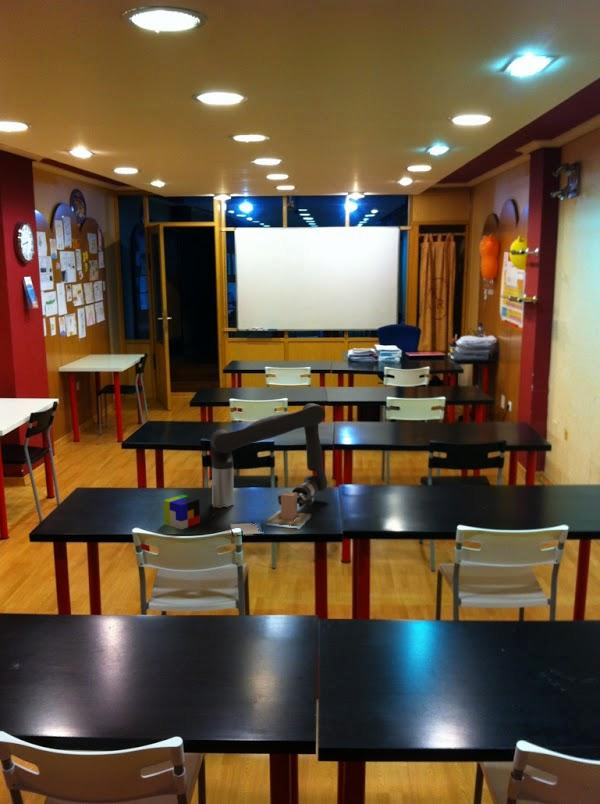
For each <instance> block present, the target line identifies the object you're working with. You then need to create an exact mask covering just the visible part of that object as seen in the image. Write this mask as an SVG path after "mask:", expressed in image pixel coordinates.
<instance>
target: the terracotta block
mask: <svg viewBox="0 0 600 804" xmlns="http://www.w3.org/2000/svg"><path fill="white" fill-rule="evenodd" d="M282 493H283V494H282ZM282 493H280V494H281V505H280V507H281V508H280V511H281V519H283V520H291V521H294V520H295V519H296V518H297V513H298V504H297V493H296V492H292V491H284V492H282Z"/></svg>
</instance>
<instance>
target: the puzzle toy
mask: <svg viewBox="0 0 600 804" xmlns="http://www.w3.org/2000/svg"><path fill="white" fill-rule="evenodd" d="M200 506H201V505H200V499H199V498H197V497H192V496H188V495H184V494H181V495H177V496H174V497H171V498H168V499H164V500H163V519H164V520H163V521H164V523H163V524H164V525H166V526H169V527H173V528H176V529H179V530H185V529H187V528H190V527H193V526H195V525H197V524H200V523H201V522H200V521H201V518H200V517H201V516H200V514H201V513H200V511H201V510H200Z"/></svg>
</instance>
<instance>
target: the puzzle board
mask: <svg viewBox="0 0 600 804" xmlns="http://www.w3.org/2000/svg"><path fill="white" fill-rule="evenodd" d="M310 515H311V516H312V513H303V512H297V517H298V518H297V519H296V520H295V521H291V520H283V519H281V509H280V510H278V511H277V512H276V513H275V514H273V515H272V516H271V517H269V518H268V519H267V520H266V524H267V523H269V524H279V525H289V526H290V525H291V526H300V525H301V524H302V523H303V522H304V521H305V520H306V519H307V518H308V517H309V516H310Z"/></svg>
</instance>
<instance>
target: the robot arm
mask: <svg viewBox="0 0 600 804" xmlns="http://www.w3.org/2000/svg"><path fill="white" fill-rule="evenodd" d="M325 418H326V411H325V409H324V407H322V406H321V405H320V404H316V403H313V402H312V403H310V402H309V403H307V404H305V405H304V406H303V407H302V409H301V410H298V411H294V412H290V413H281V414H276V415H275V414H274V415H270V416H267V417H263V418H260V419H258V420H256V421H254V422H252V423H251V424H249V425H247V426H246V427H244V428H241V429H237V430H232V431H228V430H227V429H217V430H215V431H214V432H213V433H212V435H211V437H210V459H211V473H212V474H211V478H212V479H211V480H212V481H211V487H212V488H211V493H212V494H211V499H212V500H211V503H212V508H219V509H220V508H222V507H227V508H229V507H228V506H231V505H233V504H234V502H235V498H234V493H235V492H234V487H235V486H234V485H235V483H234V482H235V481H234V459H233V451H235V450H237V449H239V448H242V447H245V446H247V445H250V444H254V443H258V442H262V441H266V440H269V439H273V438H276V437H278V436H281V435H284V434H287V433H290V432H292V431H294V430H297V429H301V428H304V434H305V435H304V436H305V445H306V446H305V447H306V448H305V449H306V467H307V470H308V471H311V472H314V473H315V474H316V475H313V474H312V475H311V474H310V475H307V476H305V477H304V480H303V482H302V483H301V484H299V485H297V486H296V487H295V488H294V489H292V491H291V492H296V493H297V505H298V507H299V508H302V507H304V506H306V505H308V506H311V505H312V504H313V503H314V497H315V494H316V493H318V492H325V491H326V490H327V487H328V480H327V476H326V473H325V470H324V466H323V464H324V463H323V461H324V460H323V450H322V444H321V441H320V433H319V426H320V424H321V423H322V422H323V421H324V420H325ZM283 493H284V492H282V493H280V494H279V495H277V501H278V504H279V506H281V494H283ZM234 505H235V504H234ZM234 505H233V506H234ZM231 507H232V506H231ZM222 509H223V508H222Z"/></svg>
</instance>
